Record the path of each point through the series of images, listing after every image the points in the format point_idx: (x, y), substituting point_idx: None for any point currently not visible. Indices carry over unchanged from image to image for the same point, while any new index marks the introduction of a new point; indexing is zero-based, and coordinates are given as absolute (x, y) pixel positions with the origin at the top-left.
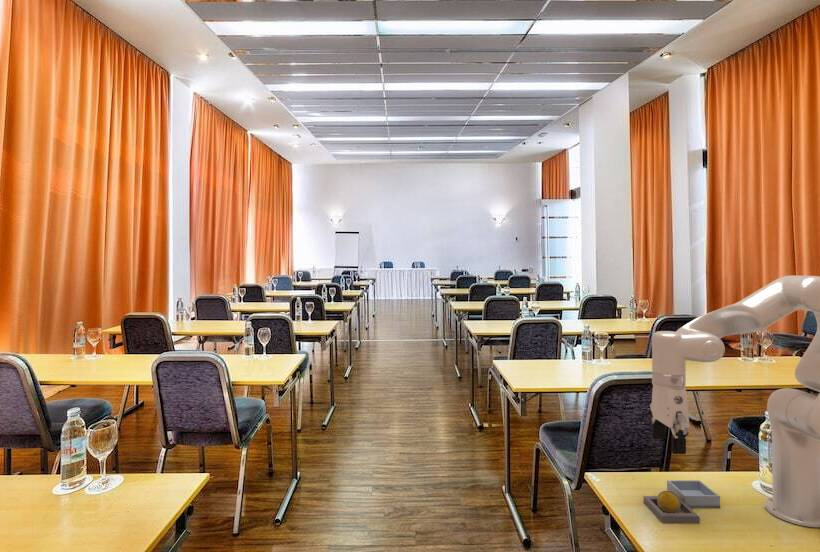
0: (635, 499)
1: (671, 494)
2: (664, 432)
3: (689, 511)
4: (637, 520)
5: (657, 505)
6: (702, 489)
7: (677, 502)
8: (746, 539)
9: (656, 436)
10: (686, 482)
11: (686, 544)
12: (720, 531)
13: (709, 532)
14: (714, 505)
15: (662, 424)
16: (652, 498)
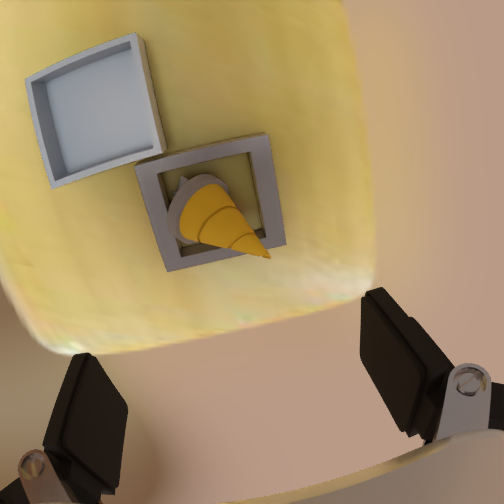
0: (154, 279)
1: (230, 221)
2: (83, 396)
3: (234, 154)
4: (275, 291)
5: None
6: (57, 74)
7: (221, 191)
8: (326, 42)
9: (119, 410)
10: (41, 123)
11: (369, 204)
12: (297, 90)
13: (308, 123)
14: (145, 55)
15: (71, 460)
16: (176, 249)
